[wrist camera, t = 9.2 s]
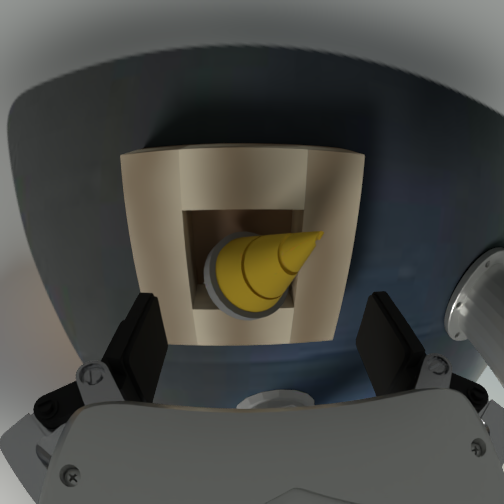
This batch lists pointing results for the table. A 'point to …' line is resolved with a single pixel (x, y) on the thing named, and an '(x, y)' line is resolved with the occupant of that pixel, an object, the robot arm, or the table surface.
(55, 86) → the table surface
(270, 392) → the french press
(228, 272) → the yellow stepped cone
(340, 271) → the socket block
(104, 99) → the table surface
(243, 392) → the table surface
